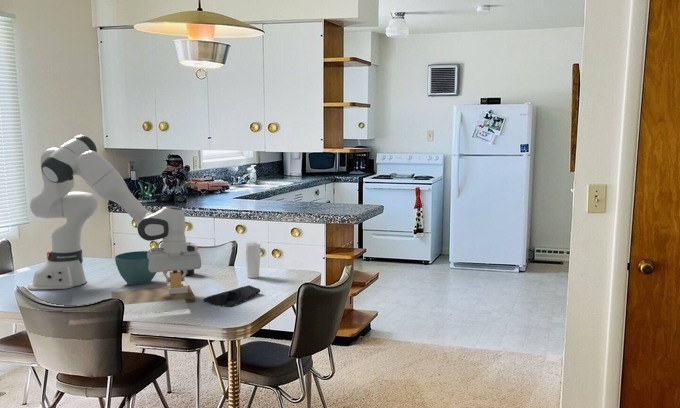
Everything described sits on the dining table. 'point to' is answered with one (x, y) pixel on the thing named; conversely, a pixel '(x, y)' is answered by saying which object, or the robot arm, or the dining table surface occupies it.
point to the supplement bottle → (189, 272)
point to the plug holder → (178, 289)
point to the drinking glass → (252, 259)
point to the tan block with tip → (175, 279)
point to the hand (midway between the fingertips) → (175, 281)
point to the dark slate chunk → (232, 296)
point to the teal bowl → (134, 268)
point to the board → (152, 295)
